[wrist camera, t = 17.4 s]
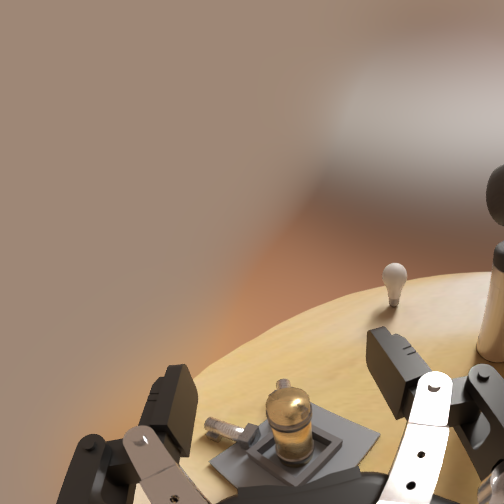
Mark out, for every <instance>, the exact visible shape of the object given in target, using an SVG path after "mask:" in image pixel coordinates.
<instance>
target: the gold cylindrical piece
mask: <svg viewBox="0 0 504 504" xmlns="http://www.w3.org/2000/svg"><path fill="white" fill-rule="evenodd" d="M266 408H267V410H266V415H267V419H268V423H269V425H270V426H271V428H272V432H273V436H274V440H275V444H276V445H275V450H276V454H277V457H278V458H279V459H280V461H281V463H282V464H283V465H285V466H287V467H291V468H298V467H302V466H304V465H306V464H307V463H309V462H310V460H311V459H312V457H313V453H314V441H313V439H312V427H311V419H312V405H311V403H310V400H309V396H308V394H307V393H306V392H305V391H303V390H301V389H299V388H294V387H288V388H282V389H279V390H277V391H274V392H272V393H271V394H270V395H269V397H268V399H267V402H266Z"/></svg>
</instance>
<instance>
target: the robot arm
mask: <svg viewBox="0 0 504 504" xmlns="http://www.w3.org/2000/svg"><path fill="white" fill-rule="evenodd" d="M486 202H487V207H488V210H489V212H490V215H491V216H492V218H493V219H494V220H495V221H496V222H497V223H498V224H499V225H502V226H504V164H503V165H501V166H500V167H498V168H496V169H495V170H494V171H493V173H492V174H491V176H490V178H489V181H488V185H487V191H486ZM477 350H478V353H479V354H480V355H481V356H482V357H483V358H485V359H486V360H488V361H491V362H504V241H502V242H500V243H499V244H498V245H497V246H496V247H495V250H494V258H493V266H492V274H491V281H490V287H489V293H488V298H487V303H486V308H485V313H484V317H483V322H482V326H481V330H480V334H479V337H478V341H477ZM366 363H367V367H368V369H369V371H370V373H371V375H372V377H373V378H374V380H375V382H376V384H377V386H378V387H379V389H380V391H381V393H382V395H383V396H384V398H385V400H386V402H387V404H388V406H389V407H390V409H391V411H392V413H393V415H394V417H395V419H396V420H398V419H400V418H403V417H405V418H406V420H407V423H406V426H405V429H404V432H403V435H402V438H401V441H400V444H399V447H398V450H397V453H396V455H395V458H394V461H393V463H392V465H391V468H390V470H389V473H388V475H387V474H384V473H379V472H360V469H359V466H356V467H353V468H349V469H346V470H342V471H338V472H334V473H330V474H328V475H326V476H323V477H321V478H319V479H317V480H314V481H312V482H310V483H307V484H305V485H302V486H277V485H261V486H250V487H238V494H237V495H233V496H230V497H228V498H226V499H223V500H221V501H220V502H218V503H216V504H460V503H457V502H454V501H451V500H448V499H446V498H443V497H440V496H437V495H435V494H433V492H434V489H435V485H436V482H437V479H438V475H439V472H440V468H441V464H442V460H443V456H444V452H445V447H446V442H447V437H448V432H449V427H453V428H454V429H455V431H456V433H457V435H458V437H459V438H460V440H461V442H462V444H463V446H464V448H465V450H466V451H467V453H468V455H469V457H470V459H471V461H472V463H473V465H474V467H475V469H476V471H477V473H478V475H479V477H480V479H481V482H482V483H481V484H480V486H479V488H478V493H477V494H478V502H479V504H504V379H503V378H502V377H501V375H500V374H499V373H498V372H497V371H496V370H495V369H494V368H493V367H492V366H490V365H488V364H477V365H475V366H473V367H472V368H471V369H470V371H469V373H468V376H465V377H459V378H454V379H450V378H449V377H448V376H447V375H445V374H443V373H440V372H433V371H432V370H431V369H430V368H429V366H428V365H427V364H426V363H425V361H424V360H423V359H422V358H421V356H420V355H419V354H418V353H416V350H415V349H414V348H413V347H411V344H410V343H409V342H408V341H407V340H406V339H405V338H404V337H402V336H400V335H398V334H394V335H391V334H390V332H389V331H388V330H387V329H386V327H384V326H382V327H379V328H376V329H372V330H369V331H368V332H367V346H366ZM197 403H198V393H197V389H196V386H195V384H194V382H193V379H192V377H191V375H190V372H189V370H188V368H187V366H186V365H185V364H181V365H169V366H168V367H167V370H166V373H165V376H164V377H159V378H158V379H157V380H156V382H155V383H154V384H153V385H152V388H151V390H150V395H149V396H148V399H147V402H146V404H145V407H144V410H143V413H142V416H141V419H140V422H139V425H138V426H136V427H133V428H131V429H130V430H128V431H127V432H126V434H125V435H124V438H123V439H118V440H112V441H105V440H104V439H103V438H102V437H101V436H100V435H97V434H90V435H87V436H85V437H83V438H82V439H81V440H80V442H79V443H78V445H77V447H76V450H75V452H74V455H73V458H72V460H71V463H70V466H69V468H68V471H67V474H66V476H65V479H64V482H63V485H62V488H61V491H60V494H59V497H58V500H57V503H56V504H133V500H134V494H135V489H136V483H140V485H141V487H142V489H143V490H144V492H145V494H146V495H147V497H148V499H149V500H150V502H151V504H212V503H211V502H210V501H209V500H208V499H207V498H206V497H205V496H204V495H203V494H202V492H201V491H200V490H199V489H198V488H197V486H196V485H195V484H194V483H193V482H192V480H191V479H190V478H189V476H188V475H187V474H186V473H185V471H184V470H183V469H182V467H181V466H180V465H179V460H180V457H189V454H190V448H191V441H192V435H193V428H194V422H195V416H196V410H197Z"/></svg>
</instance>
